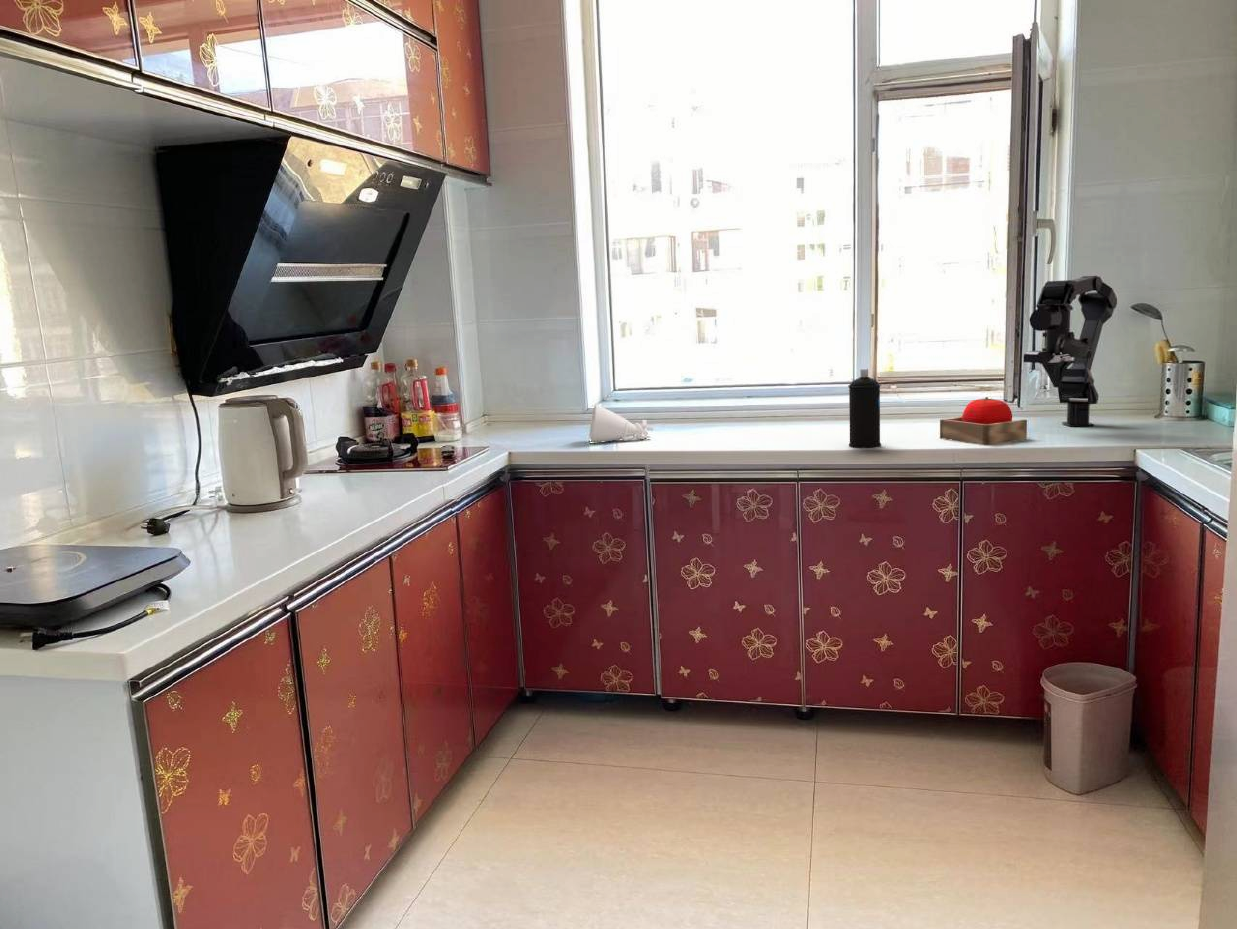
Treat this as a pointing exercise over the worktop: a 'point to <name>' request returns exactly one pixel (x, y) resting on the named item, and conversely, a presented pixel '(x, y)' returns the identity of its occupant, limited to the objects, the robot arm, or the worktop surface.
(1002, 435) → the tray
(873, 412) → the aerosol can
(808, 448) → the worktop surface
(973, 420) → the tomato
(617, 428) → the rocket engine
